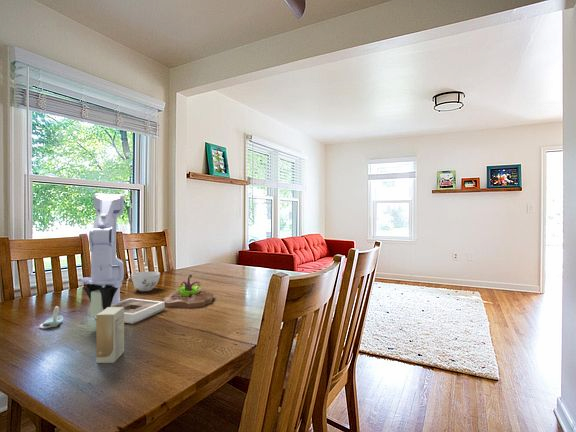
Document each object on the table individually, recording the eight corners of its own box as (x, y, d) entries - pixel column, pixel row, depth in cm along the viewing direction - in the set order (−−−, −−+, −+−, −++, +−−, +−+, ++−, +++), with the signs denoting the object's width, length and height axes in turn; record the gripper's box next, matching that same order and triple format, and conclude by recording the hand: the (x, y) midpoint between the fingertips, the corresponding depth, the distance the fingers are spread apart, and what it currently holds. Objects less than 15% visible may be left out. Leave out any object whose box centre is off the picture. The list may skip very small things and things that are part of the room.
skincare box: (107, 352, 84) (107, 306, 84) (124, 352, 85) (125, 306, 85) (95, 364, 78) (95, 314, 78) (113, 363, 78) (113, 313, 78)
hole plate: (99, 315, 111) (99, 311, 111) (130, 304, 125) (130, 300, 125) (132, 319, 107) (132, 315, 107) (160, 308, 121) (160, 303, 121)
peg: (90, 316, 101) (90, 291, 101) (101, 313, 105) (101, 288, 105) (100, 318, 100) (101, 292, 100) (111, 314, 104) (111, 289, 104)
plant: (219, 296, 143) (219, 271, 143) (204, 309, 123) (204, 280, 123) (176, 295, 144) (176, 270, 144) (154, 308, 125) (154, 279, 125)
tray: (94, 318, 111) (95, 309, 111) (129, 305, 126) (129, 298, 126) (133, 323, 106) (133, 314, 106) (164, 309, 121) (164, 301, 121)
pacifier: (36, 331, 99) (59, 328, 101) (35, 311, 99) (59, 308, 101) (43, 323, 106) (64, 321, 108) (42, 305, 106) (64, 302, 108)
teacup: (161, 291, 149) (161, 274, 149) (131, 294, 143) (131, 276, 143) (157, 284, 162) (157, 269, 162) (130, 287, 156) (130, 271, 156)
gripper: (72, 266, 100) (72, 309, 100) (109, 269, 96) (109, 314, 96) (91, 262, 107) (91, 303, 107) (127, 265, 103) (127, 307, 103)
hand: (101, 308), depth 102 cm, fingers closed on peg, 4 cm apart
